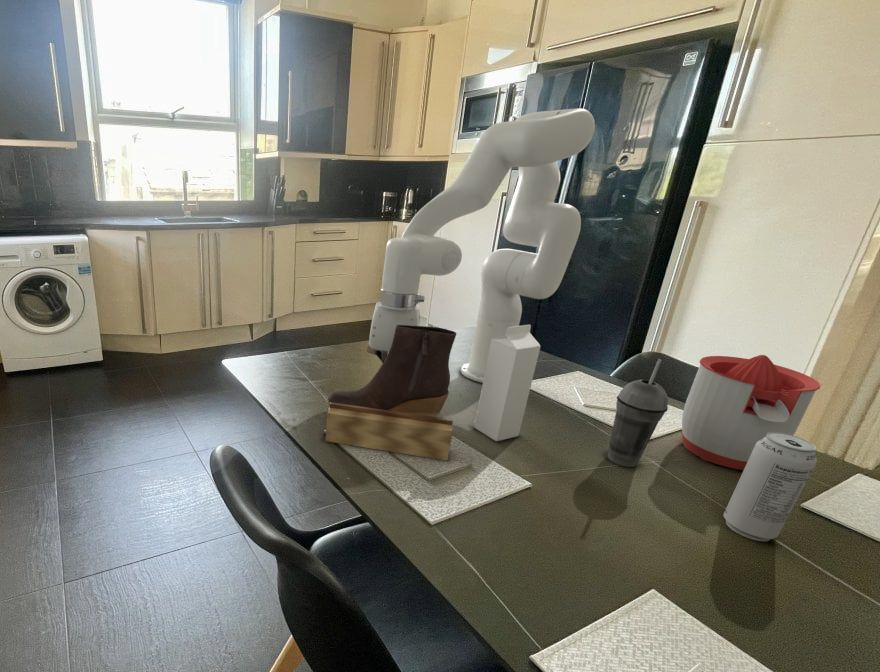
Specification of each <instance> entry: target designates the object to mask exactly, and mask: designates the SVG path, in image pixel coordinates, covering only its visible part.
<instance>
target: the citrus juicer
mask: <svg viewBox="0 0 880 672" xmlns="http://www.w3.org/2000/svg"><path fill="white" fill-rule="evenodd" d="M819 389H821V384H820V382H819V381H818V380H816V379H815V378H813V377H811V376H809V375H807V374H805V373H802V372H800V371H796V370H794V369H792V368H788V367H785V366H781V365H779V364H778V365H777V364H775V363H774V362H773V361H772V360H771V359H770V357H768V356H767V355H766V354H759V355H756V356H753V357H750V358H743V357H738V356H730V355H729V356H728V355H710V356H709V355H708V356H703V357H702V358H701V359H699V367H698V369H697V372H696V374H695V377H694V380H693V382H692V384H691V386H690V390H689V392H688V394H687V395H688V396H687V398H686V401H685V404H684V407H683V410H682V411H683V412H682V418H681V430H680V431H681V432H680V433H681V440H682V444H683V447H685V449H687V450H688V451H689V452H691V453H692V454H694V455H695V456H697V457H699V458H700V459H701V460H703V461H704V462H708V463H713V464H715V465H719V466H722V467H726V468H730V469H735V470H741V471H744V469H745V466H746V464H747V462H748V460H749V458H750V456H751V453H752V451H753V449H754V447H755V445H756V443H757V442H758V441H759V440H761V439H763V438H765V437H766V435H767V433H770V432H779V433H785V434H789V435H793V436H795V434H796V432H797V430H798V428H799V426H800V424H801V421H802V420H803V418H804V415H805V414H806V412H807V410H808V408H809V406H810V404H811V402H812V400H813V398H814V396H815V393H816V391H818V390H819Z"/></svg>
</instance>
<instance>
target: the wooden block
mask: <svg viewBox="0 0 880 672" xmlns="http://www.w3.org/2000/svg"><path fill="white" fill-rule="evenodd" d="M453 422H454V421H453V419H452V418H445V417H439V416H438V417H432V416H425V415H418V414H411V413H403V412H396V411H389V410H382V409H375V408H368V407H361V406H353V405H346V404H339V403H332V402H330V408H328V410H327V415H326V424H325V425H326V426H325V427H326V428H325V439H324V440H325V442H328V443H333V444H334V443H336V444H341V445H347V446H354V447H358V448H359V447H360V448H367V449H373V450H379V451H385V452H391V453H397V454H404V455H410V456H416V457H423V458H429V459H433V460H435V459H436V460H442V461H448V459H449V453H450V448H451V444H452V443H451V442H452V438H453V432H454V429H453Z"/></svg>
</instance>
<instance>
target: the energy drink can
mask: <svg viewBox="0 0 880 672" xmlns="http://www.w3.org/2000/svg"><path fill="white" fill-rule="evenodd" d="M816 450H817V446H816V445H815V444H814V443H812V442H810V441H809V440H807V439H804V438H803V437H800V436H796V435H789V434H785V433H779V432H770V433H767V435H766V437H765V438H763V439H761V440H759V441H758V442H757V443H756V445H755V447H754V449H753V451H752V453H751V456H750V458H749V460H748V462H747V464H746V466H745V469H744V470H742V473H741V475H740V478H739V480H738V482H737V484H736V486H735V488H734V491H733V493H732V495H731V497H730V499H729V501H728V504H727V506H726V508H725V510H724V512H723V518H724V520H725V524H726V526H727V527H728V528H729V529H730V530H732V531H733V532H734V533H736V534H738V535H740V536H742V537H744V538H746V539H749V540H753V541H757V542H768V541H770V540H771V539H776V538H778V537H779V535H780V534H781V531H782V530H783V527H784V526H785V523H786V522H787V520H788V518H789V516H790V514H791V512H792V510H793V508H794V506H795V505H796V503H797V501H798V499H799V497H800V495H801V493H802V491H803V489H804V488H805V485H806V483H807V482H808V480H809V478H810V476H811V474H812V472H813V470H814V468H815V466H816V464H817V463H818V459H817V455H816V452H815V451H816Z"/></svg>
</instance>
